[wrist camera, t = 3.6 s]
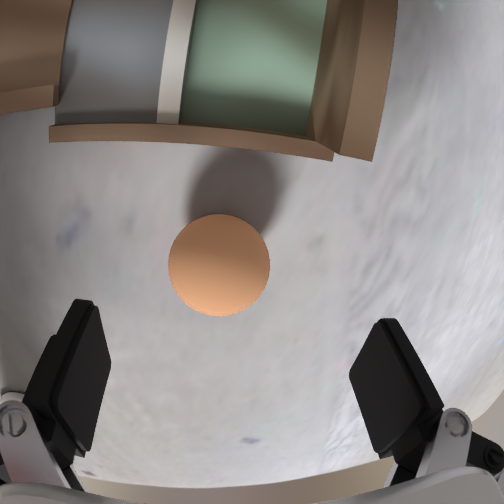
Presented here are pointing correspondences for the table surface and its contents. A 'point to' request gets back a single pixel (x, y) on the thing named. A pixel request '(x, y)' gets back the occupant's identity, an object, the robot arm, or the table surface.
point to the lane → (203, 71)
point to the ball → (219, 265)
